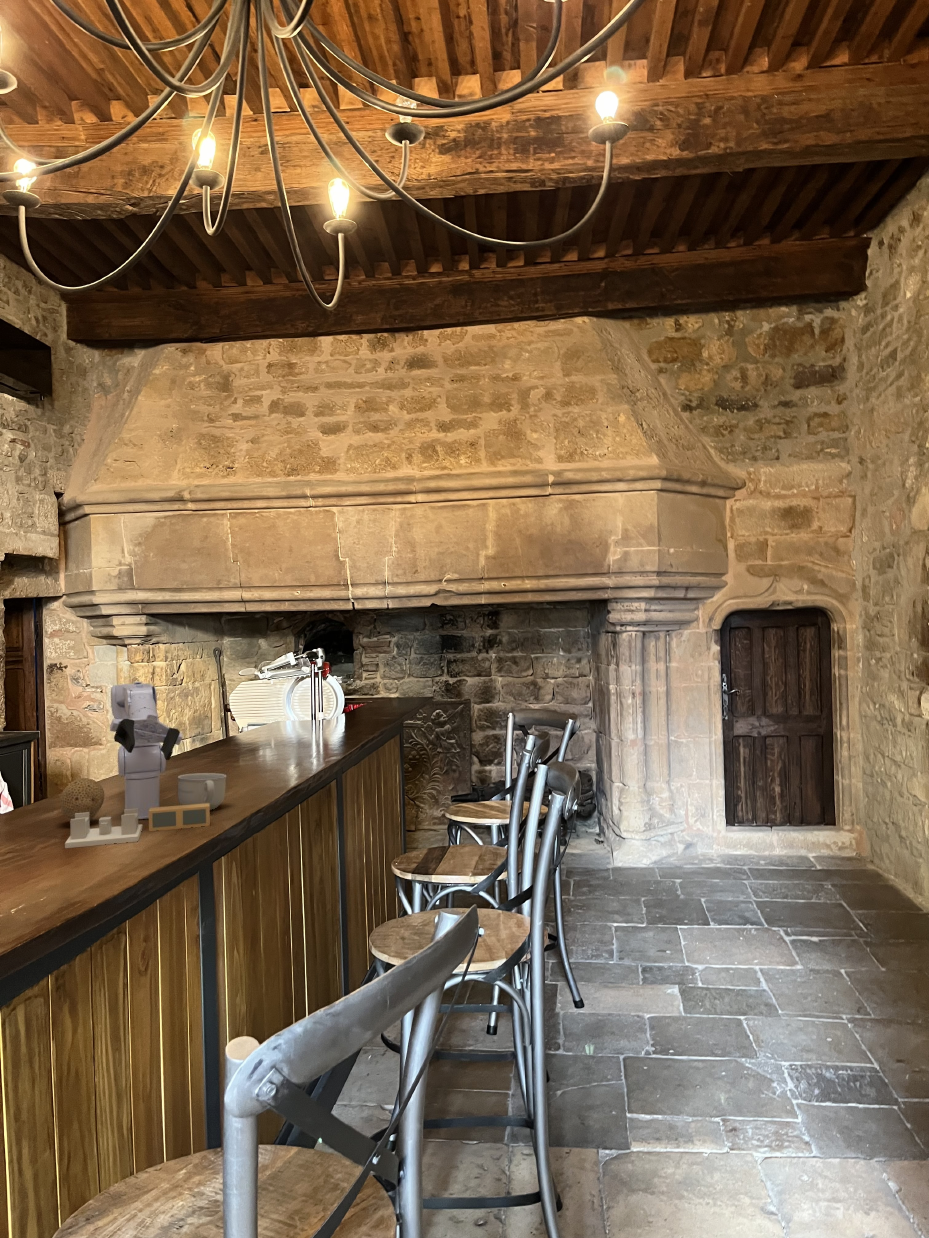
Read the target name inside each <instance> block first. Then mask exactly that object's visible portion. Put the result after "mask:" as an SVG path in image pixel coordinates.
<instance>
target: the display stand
mask: <svg viewBox="0 0 929 1238" xmlns="http://www.w3.org/2000/svg"><path fill="white" fill-rule="evenodd" d="M120 819H121V823H120V824H121V825H119V826H112V816H104V817H100V818H99V819H98V827H97V828H96V827H95V828H90V824H91V823H90V821H91V820H90V819H89V812H86V813H75V819H71V818H70V822H69V824H70V836H69V837H68V838H67V839H66V841H65V843H64V848H65V849H72V848H73V849H74V848H83V847H94V846H106V845H115V844H114V843H117V844H126V842H128V843H134V842H135V843H137V841H138V842H139V839H140V836H141V834H142V832H141V831H143V824H139V819H138V808H136V809H125V808H124V809H123V814H121V816H120ZM105 844H106V845H105Z"/></svg>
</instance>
